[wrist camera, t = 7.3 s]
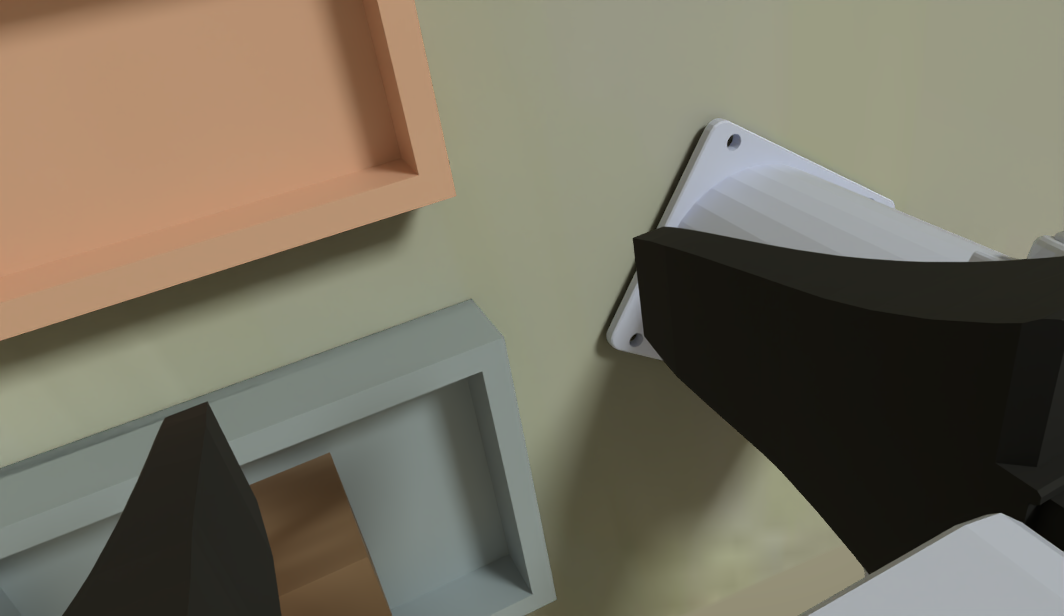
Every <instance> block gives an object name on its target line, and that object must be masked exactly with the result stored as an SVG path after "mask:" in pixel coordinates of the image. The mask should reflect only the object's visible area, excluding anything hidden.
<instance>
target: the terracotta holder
mask: <svg viewBox="0 0 1064 616" xmlns="http://www.w3.org/2000/svg"><path fill="white" fill-rule="evenodd" d="M455 196H456V192H455V188H454V183H453V178H452V174H451V169H450V164H449V160H448V155H447V150H446V146H445V141H444V136H443V132H442V127H441V123H440V118H439V113H438V109H437V104H436V99H435V95H434V90H433V85H432V81H431V76H430V72H429V67H428V62H427V58H426V53H425V48H424V44H423V39H422V34H421V30H420V25H419V20H418V16H417V11H416V7H415V2H414V0H0V341H1V340H4V339H7V338H10V337H14V336H17V335H20V334H23V333H26V332H29V331H33V330H36V329H39V328H42V327H45V326H48V325H51V324H55V323H58V322H61V321H64V320H67V319H70V318H73V317H77V316H80V315H83V314H86V313H89V312H92V311H96V310H99V309H102V308H105V307H108V306H111V305H114V304H118V303H121V302H124V301H127V300H130V299H133V298H136V297H140V296H143V295H146V294H149V293H152V292H155V291H159V290H162V289H165V288H168V287H171V286H174V285H177V284H181V283H184V282H187V281H190V280H193V279H196V278H199V277H203V276H206V275H209V274H212V273H215V272H218V271H222V270H225V269H228V268H231V267H234V266H237V265H240V264H244V263H247V262H250V261H253V260H256V259H259V258H262V257H266V256H269V255H272V254H275V253H278V252H281V251H285V250H288V249H291V248H294V247H297V246H300V245H303V244H307V243H310V242H313V241H316V240H319V239H322V238H325V237H329V236H332V235H335V234H338V233H341V232H344V231H348V230H351V229H354V228H357V227H360V226H363V225H366V224H370V223H373V222H376V221H379V220H382V219H385V218H388V217H392V216H395V215H398V214H401V213H404V212H407V211H411V210H414V209H417V208H420V207H423V206H426V205H429V204H433V203H436V202H439V201H442V200H445V199H448V198H451V197H455Z"/></svg>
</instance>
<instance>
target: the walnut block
mask: <svg viewBox="0 0 1064 616" xmlns="http://www.w3.org/2000/svg"><path fill="white" fill-rule="evenodd" d="M250 487H251V489H252V491H253V493H254V495H255V497H256V499H257V502H258V505H259V509H260V512H261V516H262V519H263V523H264V526H265V529H266V533H267V537H268V540H269V544H270V547H271V551H272V555H273V560H274V567H275V573H276V580H277V587H278V594H279V601H280V608H281V615H282V616H392V613H391V610H390V607H389V605H388V602H387V599H386V597H385V594H384V591H383V589H382V586H381V583H380V580H379V578H378V575H377V572H376V570H375V567H374V564H373V561H372V559H371V556H370V553H369V551H368V548H367V546H366V543H365V541H364V538H363V536H362V533H361V530H360V528H359V525H358V523H357V520H356V518H355V515H354V513H353V510H352V507H351V505H350V502H349V500H348V497H347V495H346V492H345V490H344V487H343V484H342V482H341V479H340V477H339V474H338V472H337V469H336V467H335V464H334V461H333V459H332V456H331V454H330V452H329V453H327V454H324V455H322V456H319V457H317V458H315V459H312V460H310V461H307V462H305V463H302V464H300V465H297V466H295V467H292V468H290V469H287V470H285V471H283V472H280V473H278V474H275V475H273V476H270V477H268V478H265V479H263V480H260V481H258V482H256V483H253V484H251V485H250Z"/></svg>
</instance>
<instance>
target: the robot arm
mask: <svg viewBox="0 0 1064 616" xmlns="http://www.w3.org/2000/svg"><path fill="white" fill-rule="evenodd" d="M732 135H733V140H732V143H731V144H730V145H729V146H728V147H727V142H728V139H729V138H730V136H732ZM633 244H634V253H635V261H636V272H635V275H634V277H633V279H632V281H631V283H630V285H629V287H628V289H627V291H626V293H625V295H624V297H623V299H622V302H621V304H620V306H619V308H618V310H617V312H616V314H615V316H614V318H613V320H612V322H611V324H610V327H609V329H608V331H607V335H606V336H607V341H608V342H609V344H610V345H611V346H612V347H613V348H615V349H617V350H620V351H625V352H629V353H633V354H637V355H642V356H646V357H650V358H654V359H658V360H663V361H664V362H665V363H666V364H667V365H668V367H669V368H670V369H671V370H672V371H673V372H674V374H675V375H676V376H677V377H678V378H679V379H680V380H681V381H682V382H684V383H685V384H686V385H687V386H688V387H689V388H690V389H691V390H692V391H693V392H694V393H696V394H697V395H698V396H699V397H700V398H701V399H702V400H703V401H704V402H705V403H707V404H708V405H709V406H710V407H711V408H712V409H713V410H714V411H716V412H717V413H718V414H719V415H720V416H721V417H722V418H723V419H725V420H726V421H727V422H728V423H729V424H730V425H731V426H732V427H734V428H735V429H736V430H737V431H738V432H739V433H740V434H741V435H743V436H744V437H745V438H746V439H747V440H748V441H749V442H750V443H752V444H753V445H754V446H755V447H756V448H757V449H758V450H759V451H761V452H762V453H763V454H764V455H765V456H766V457H767V458H768V459H769V460H770V461H771V462H772V463H773V464H774V465H775V466H776V467H777V468H778V469H779V470H780V471H781V472H782V473H783V474H784V475H785V476H786V477H787V478H788V480H789V481H790V482H791V483H792V484H793V485H794V486H795V487H796V489H797V490H798V491H799V492H800V493H801V494H802V495H803V496H804V497H805V499H806V500H807V501H808V502H809V503H810V504H811V505H812V506H813V507H814V509H815V510H816V511H817V512H818V513H819V514H820V516H821V517H822V518H823V519H824V520H825V521H826V523H827V524H828V525H829V526H830V527H831V529H832V530H833V531H834V532H835V533H836V535H837V536H838V537H839V538H840V539H841V540H842V542H843V543H844V544H845V545H846V546H847V548H848V549H849V550H850V551H851V552H852V554H854V556H855V557H856V559H857V560H858V561H859V562H860V564H861V565H862V566H863V567H864V572H865V578H863V579H861V580H860V581H858V582H856V583H854V584H852V585H851V586H849V587H847V588H845V589H844V590H842V591H840V592H838V593H837V594H835V595H833V596H832V597H830V598H828V599H826V600H824V601H823V602H821V603H819V604H817V605H816V606H814V607H812V608H810V609H809V610H807V611H805V612H804V613H802V614H800V615H798V616H1064V231H1062V232H1059V233H1057V234H1056V235H1055V237H1054V236H1047V235H1044V236H1041V237H1038V238H1037V239H1036V240H1035V241H1034V243H1033V245H1032V247H1031V249H1030V252H1029V254H1028V256H1027V259H1016V258H1012V257H1009V256H1007V255H1005V254H1002V253H1000V252H997V251H995V250H992V249H990V248H988V247H985V246H983V245H980V244H978V243H976V242H973V241H971V240H968V239H966V238H964V237H961V236H959V235H956V234H954V233H952V232H949V231H947V230H944V229H942V228H940V227H937V226H935V225H932V224H930V223H927V222H925V221H923V220H920V219H918V218H915V217H913V216H911V215H908V214H906V213H903V212H901V211H899V210H896V209H895V205H894V202H893V201H892V200H890V199H888V198H886V197H884V196H882V195H880V194H878V193H876V192H874V191H872V190H870V189H868V188H866V187H863V186H861V185H859V184H857V183H855V182H853V181H851V180H849V179H847V178H845V177H843V176H841V175H839V174H837V173H835V172H833V171H831V170H829V169H826V168H824V167H822V166H820V165H818V164H816V163H814V162H812V161H810V160H808V159H806V158H804V157H802V156H800V155H798V154H796V153H794V152H792V151H789V150H787V149H785V148H783V147H781V146H779V145H777V144H775V143H773V142H771V141H769V140H767V139H765V138H763V137H761V136H759V135H757V134H755V133H752V132H750V131H748V130H746V129H744V128H742V127H740V126H738V125H736V124H734V123H732V122H730V121H727V120H725V119H721V118H717V119H714V120H712V121H711V122H709V123H708V125H707V126H706V127H705V129H704V131H703V133H702V135H701V137H700V139H699V141H698V144H697V146H696V148H695V150H694V152H693V154H692V156H691V158H690V160H689V162H688V164H687V166H686V168H685V171H684V173H683V175H682V177H681V179H680V181H679V183H678V185H677V187H676V189H675V191H674V193H673V196H672V198H671V200H670V202H669V204H668V206H667V208H666V210H665V212H664V214H663V216H662V218H661V220H660V223H659V225H658V227H657V229H655V230H653V231H650V232H647V233H645V234H642V235H640V236H637V237H634V238H633ZM636 333H637V335H636V337H635V339H634V340H632V341H630V338H631V337H632V336H633V335H634V334H636ZM62 616H282V615H281V608H280V601H279V594H278V587H277V580H276V573H275V567H274V560H273V555H272V551H271V547H270V544H269V540H268V537H267V533H266V529H265V526H264V523H263V519H262V516H261V512H260V509H259V505H258V502H257V499H256V497H255V495H254V493H253V491H252V489H251V487H250V485H249V483H248V481H247V479H246V477H245V475H244V473H243V471H242V469H241V467H240V465H239V463H238V461H237V459H236V457H235V455H234V453H233V451H232V449H231V447H230V445H229V443H228V441H227V439H226V437H225V435H224V433H223V431H222V429H221V427H220V425H219V423H218V421H217V419H216V417H215V415H214V413H213V411H212V409H211V407H210V405H209V403H208V401H207V402H204V403H201V404H199V405H196V406H194V407H191V408H188V409H186V410H183V411H181V412H178V413H175V414H173V415H170V416H168V417H165V418H164V420H163V422H162V424H161V426H160V428H159V431H158V433H157V435H156V438H155V440H154V442H153V445H152V447H151V450H150V452H149V454H148V457H147V459H146V462H145V464H144V466H143V468H142V471H141V473H140V475H139V478H138V480H137V482H136V484H135V487H134V489H133V491H132V493H131V495H130V497H129V499H128V501H127V503H126V506H125V508H124V510H123V512H122V514H121V516H120V518H119V520H118V522H117V524H116V526H115V528H114V530H113V532H112V534H111V536H110V537H109V539H108V541H107V543H106V545H105V547H104V548H103V550H102V552H101V554H100V556H99V558H98V559H97V561H96V563H95V565H94V567H93V568H92V570H91V572H90V574H89V575H88V577H87V579H86V580H85V582H84V583H83V585H82V586H81V588H80V590H79V591H78V593H77V594H76V596H75V597H74V599H73V600H72V602H71V603H70V605H69V606H68V608H67V609H66V611H65V612H64V613H63V615H62Z"/></svg>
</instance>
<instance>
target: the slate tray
mask: <svg viewBox="0 0 1064 616" xmlns="http://www.w3.org/2000/svg"><path fill="white" fill-rule="evenodd" d="M207 401H208V403H209V405H210V407H211V409H212V411H213V413H214V415H215V417H216V419H217V421H218V423H219V425H220V427H221V429H222V431H223V433H224V435H225V437H226V439H227V441H228V443H229V445H230V447H231V449H232V451H233V453H234V455H235V457H236V459H237V461H238V463H239V465H240V467H241V469H242V471H243V473H244V475H245V477H246V479H247V481H248V483H249V485H251V484H253V483H256V482H258V481H260V480H263V479H265V478H268V477H270V476H273V475H275V474H278V473H280V472H283V471H285V470H287V469H290V468H292V467H295V466H297V465H300V464H302V463H305V462H307V461H310V460H312V459H315V458H317V457H319V456H322V455H324V454H327V453H329V452H330V454H331V456H332V459H333V461H334V464H335V467H336V469H337V472H338V474H339V477H340V479H341V482H342V484H343V487H344V490H345V492H346V495H347V497H348V500H349V502H350V505H351V507H352V510H353V513H354V515H355V518H356V520H357V523H358V525H359V528H360V530H361V533H362V536H363V538H364V541H365V543H366V546H367V548H368V551H369V553H370V556H371V559H372V561H373V564H374V567H375V570H376V572H377V575H378V578H379V580H380V583H381V586H382V589H383V591H384V594H385V597H386V599H387V602H388V605H389V607H390V610H391V613H392V616H525V615H527V614H529V613H531V612H533V611H535V610H537V609H539V608H541V607H543V606H545V605H547V604H549V603H551V602H553V601H555V600H557V598H556V593H555V588H554V583H553V578H552V573H551V568H550V563H549V558H548V553H547V548H546V543H545V538H544V533H543V528H542V523H541V518H540V513H539V508H538V503H537V498H536V494H535V489H534V484H533V479H532V474H531V469H530V464H529V459H528V454H527V449H526V444H525V439H524V434H523V429H522V424H521V419H520V414H519V409H518V404H517V399H516V394H515V389H514V384H513V379H512V374H511V369H510V365H509V360H508V355H507V350H506V345H505V340H504V337H503V335H502V334H501V333H500V332H499V331H498V330H497V328H496V327H495V326H494V325H493V324H492V322H491V321H490V320H489V319H488V318H487V317H486V315H485V314H484V313H483V312H482V311H481V309H480V308H479V307H478V306H477V305H476V304H475V302H474V301H473V300H472V299H470V300H467V301H464V302H461V303H459V304H456V305H453V306H450V307H447V308H445V309H442V310H439V311H436V312H434V313H431V314H428V315H425V316H422V317H420V318H417V319H414V320H411V321H409V322H406V323H403V324H400V325H397V326H395V327H392V328H389V329H386V330H384V331H381V332H378V333H375V334H372V335H370V336H367V337H364V338H361V339H359V340H356V341H353V342H350V343H347V344H345V345H342V346H339V347H336V348H334V349H331V350H328V351H325V352H322V353H320V354H317V355H314V356H311V357H309V358H306V359H303V360H300V361H297V362H295V363H292V364H289V365H286V366H283V367H281V368H278V369H275V370H272V371H270V372H267V373H264V374H261V375H258V376H256V377H253V378H250V379H247V380H245V381H242V382H239V383H236V384H233V385H231V386H228V387H225V388H222V389H220V390H217V391H214V392H211V393H208V394H206V395H203V396H200V397H197V398H195V399H192V400H189V401H186V402H183V403H181V404H178V405H175V406H172V407H170V408H167V409H164V410H161V411H158V412H156V413H153V414H150V415H147V416H145V417H142V418H139V419H136V420H133V421H131V422H128V423H125V424H122V425H119V426H117V427H114V428H111V429H108V430H106V431H103V432H100V433H97V434H94V435H92V436H89V437H86V438H83V439H81V440H78V441H75V442H72V443H69V444H67V445H64V446H61V447H58V448H56V449H53V450H50V451H47V452H44V453H42V454H39V455H36V456H33V457H31V458H28V459H25V460H22V461H19V462H17V463H14V464H11V465H8V466H6V467H3V468H0V616H62V615H63V613H64V612H65V611H66V609H67V608H68V606H69V605H70V603H71V602H72V600H73V599H74V597H75V596H76V594H77V593H78V591H79V590H80V588H81V586H82V585H83V583H84V582H85V580H86V579H87V577H88V575H89V574H90V572H91V570H92V568H93V567H94V565H95V563H96V561H97V559H98V558H99V556H100V554H101V552H102V550H103V548H104V547H105V545H106V543H107V541H108V539H109V537H110V536H111V534H112V532H113V530H114V528H115V526H116V524H117V522H118V520H119V518H120V516H121V514H122V512H123V510H124V508H125V506H126V503H127V501H128V499H129V497H130V495H131V493H132V491H133V489H134V487H135V484H136V482H137V480H138V478H139V475H140V473H141V471H142V468H143V466H144V464H145V462H146V459H147V457H148V454H149V452H150V450H151V447H152V445H153V442H154V440H155V438H156V435H157V433H158V431H159V428H160V426H161V424H162V422H163V420H164V418H165V417H168V416H170V415H173V414H175V413H178V412H181V411H183V410H186V409H188V408H191V407H194V406H196V405H199V404H201V403H204V402H207Z"/></svg>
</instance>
